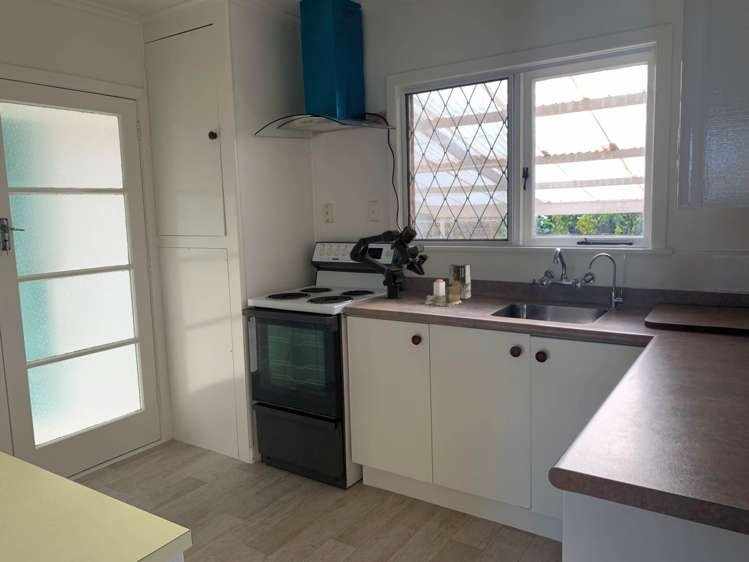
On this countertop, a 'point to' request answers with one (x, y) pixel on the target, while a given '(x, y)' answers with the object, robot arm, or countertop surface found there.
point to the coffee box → (461, 278)
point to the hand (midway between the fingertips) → (422, 274)
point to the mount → (450, 298)
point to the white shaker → (439, 288)
